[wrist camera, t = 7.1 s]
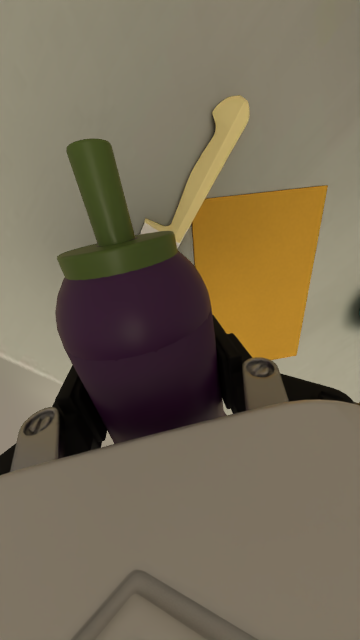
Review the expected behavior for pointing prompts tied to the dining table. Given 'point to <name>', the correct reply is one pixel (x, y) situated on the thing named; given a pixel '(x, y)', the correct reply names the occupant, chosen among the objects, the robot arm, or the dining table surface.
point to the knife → (207, 165)
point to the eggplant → (134, 314)
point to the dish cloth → (259, 264)
